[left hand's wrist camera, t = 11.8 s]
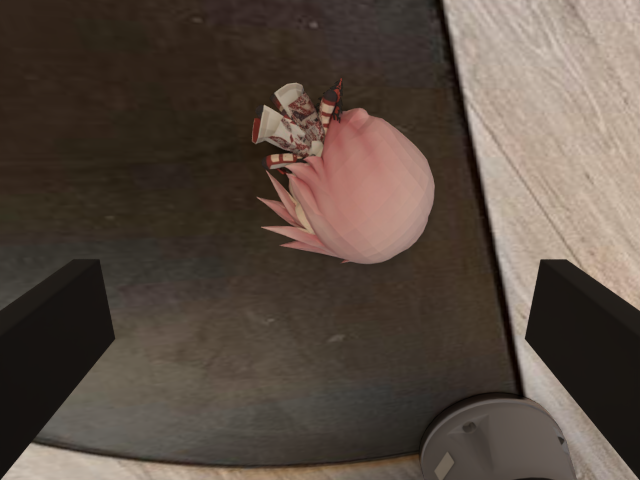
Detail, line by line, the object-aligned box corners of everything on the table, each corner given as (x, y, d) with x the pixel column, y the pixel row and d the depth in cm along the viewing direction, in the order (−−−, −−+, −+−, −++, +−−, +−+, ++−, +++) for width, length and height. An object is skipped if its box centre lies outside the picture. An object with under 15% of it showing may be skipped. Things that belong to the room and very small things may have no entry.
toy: (207, 184, 34) (340, 296, 37) (187, 171, 24) (377, 329, 26) (299, 77, 35) (424, 194, 38) (321, 19, 25) (493, 187, 27)
